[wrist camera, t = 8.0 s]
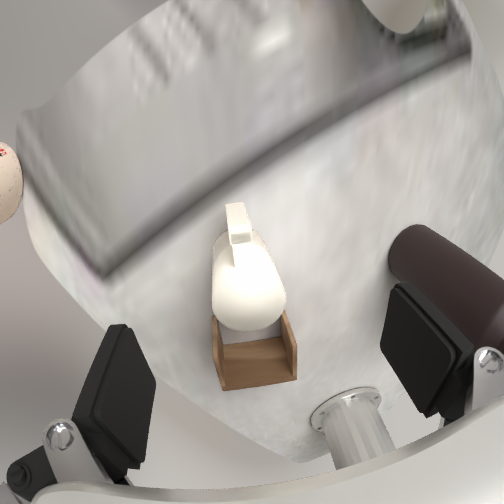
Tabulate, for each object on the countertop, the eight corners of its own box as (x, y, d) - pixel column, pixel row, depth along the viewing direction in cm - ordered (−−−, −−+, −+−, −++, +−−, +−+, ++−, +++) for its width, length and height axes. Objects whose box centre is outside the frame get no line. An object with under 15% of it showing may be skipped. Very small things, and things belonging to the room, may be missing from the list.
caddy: (284, 340, 31) (296, 379, 26) (220, 350, 31) (222, 391, 25) (283, 306, 29) (297, 345, 24) (212, 316, 29) (213, 357, 23)
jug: (269, 272, 27) (287, 325, 20) (217, 279, 27) (218, 336, 20) (262, 193, 24) (282, 223, 17) (203, 200, 23) (197, 235, 16)
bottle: (417, 280, 30) (520, 393, 12) (378, 273, 29) (492, 411, 11) (439, 230, 28) (565, 327, 10) (401, 216, 26) (551, 330, 8)
